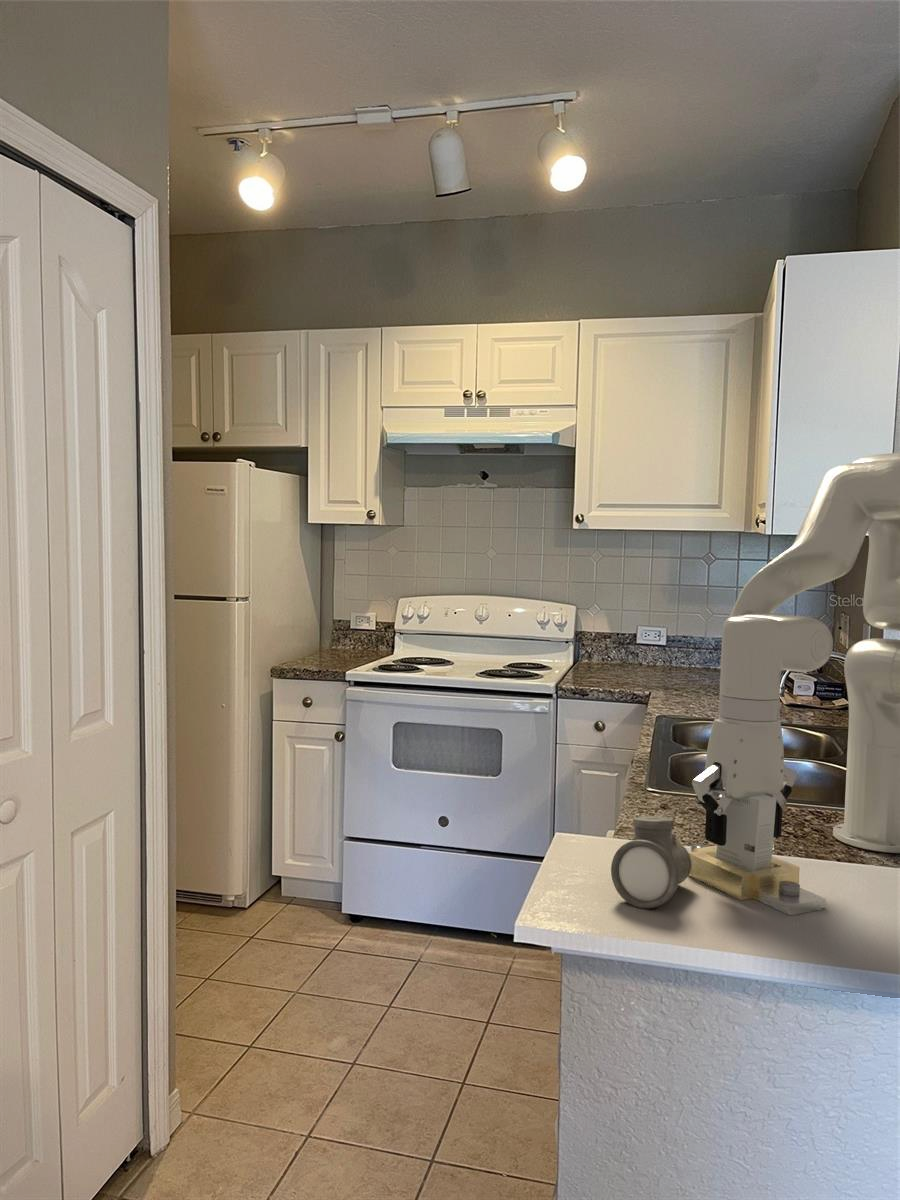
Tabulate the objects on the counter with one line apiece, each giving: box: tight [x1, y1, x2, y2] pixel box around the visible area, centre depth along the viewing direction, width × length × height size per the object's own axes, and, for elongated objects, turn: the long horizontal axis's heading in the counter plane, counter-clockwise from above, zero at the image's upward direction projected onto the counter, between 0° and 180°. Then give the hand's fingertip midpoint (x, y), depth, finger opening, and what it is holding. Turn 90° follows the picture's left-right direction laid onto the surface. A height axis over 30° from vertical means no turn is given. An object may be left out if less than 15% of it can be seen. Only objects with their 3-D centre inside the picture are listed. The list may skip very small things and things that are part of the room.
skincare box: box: [716, 789, 777, 872], centre depth 117 cm, size 6×4×12 cm
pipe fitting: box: [610, 815, 692, 910], centre depth 111 cm, size 12×8×10 cm
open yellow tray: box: [685, 843, 827, 916], centre depth 117 cm, size 10×22×3 cm, turn 26°
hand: (743, 838), depth 117 cm, fingers open, 9 cm apart
